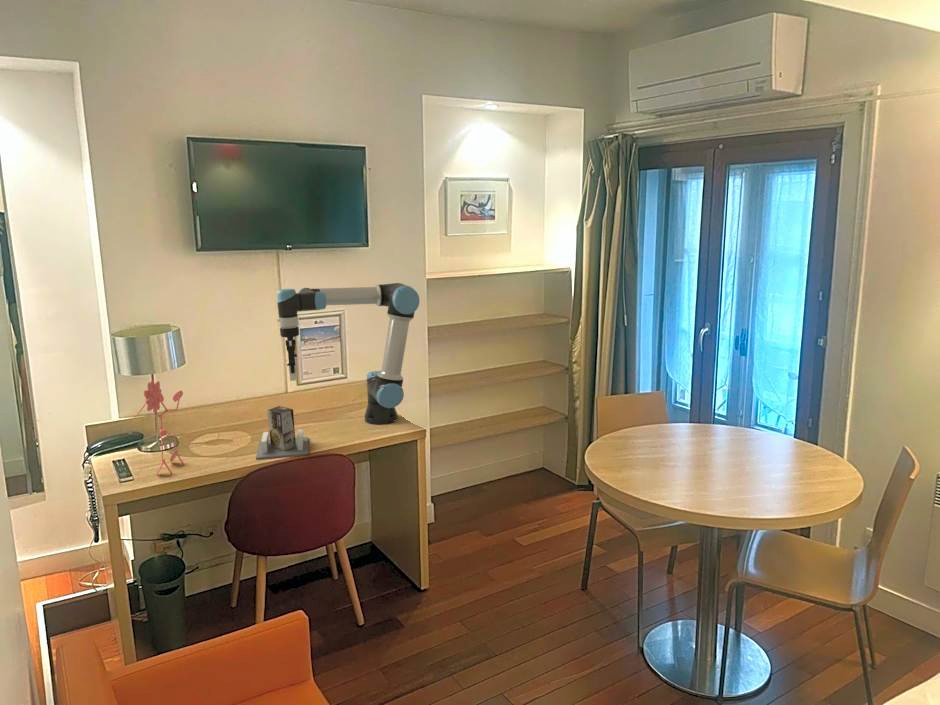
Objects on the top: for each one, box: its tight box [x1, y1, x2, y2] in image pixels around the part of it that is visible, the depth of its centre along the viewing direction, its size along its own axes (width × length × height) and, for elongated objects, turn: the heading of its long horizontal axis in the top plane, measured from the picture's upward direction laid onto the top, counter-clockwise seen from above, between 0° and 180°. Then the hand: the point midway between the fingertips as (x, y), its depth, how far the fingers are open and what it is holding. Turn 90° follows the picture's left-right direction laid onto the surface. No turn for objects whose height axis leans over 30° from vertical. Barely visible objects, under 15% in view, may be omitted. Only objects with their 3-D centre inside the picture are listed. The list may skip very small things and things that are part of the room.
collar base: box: [255, 428, 309, 460], centre depth 282 cm, size 20×20×6 cm
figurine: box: [134, 379, 191, 475], centre depth 259 cm, size 15×26×35 cm, turn 175°
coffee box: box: [267, 405, 296, 451], centre depth 281 cm, size 9×6×16 cm
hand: (293, 376), depth 287 cm, fingers open, 13 cm apart
